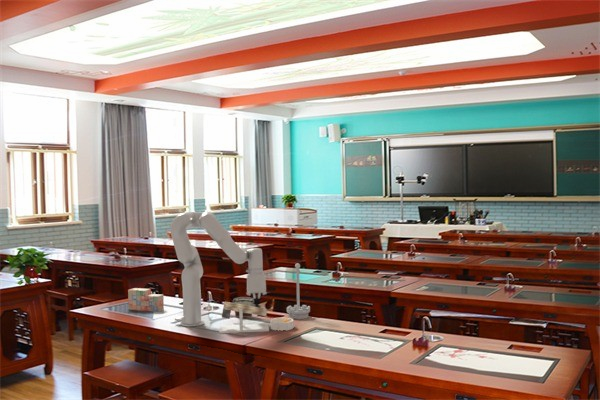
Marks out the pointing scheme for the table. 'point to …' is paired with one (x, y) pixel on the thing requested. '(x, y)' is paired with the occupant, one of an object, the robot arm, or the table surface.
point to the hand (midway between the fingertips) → (257, 305)
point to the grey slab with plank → (246, 309)
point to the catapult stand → (243, 326)
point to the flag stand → (298, 303)
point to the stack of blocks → (145, 300)
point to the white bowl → (281, 324)
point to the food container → (243, 301)
